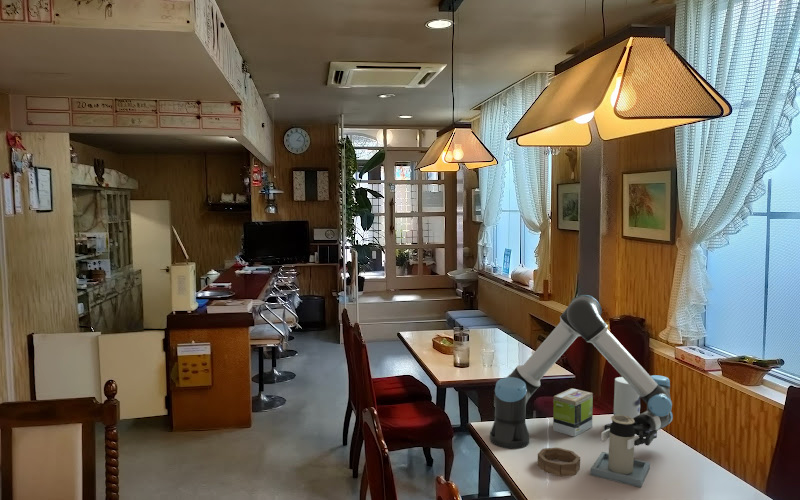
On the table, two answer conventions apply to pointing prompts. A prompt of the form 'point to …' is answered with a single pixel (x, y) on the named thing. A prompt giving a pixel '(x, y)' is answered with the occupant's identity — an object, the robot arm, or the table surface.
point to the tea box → (572, 412)
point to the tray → (632, 479)
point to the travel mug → (621, 444)
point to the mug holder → (556, 467)
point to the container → (625, 399)
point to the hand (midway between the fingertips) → (615, 440)
